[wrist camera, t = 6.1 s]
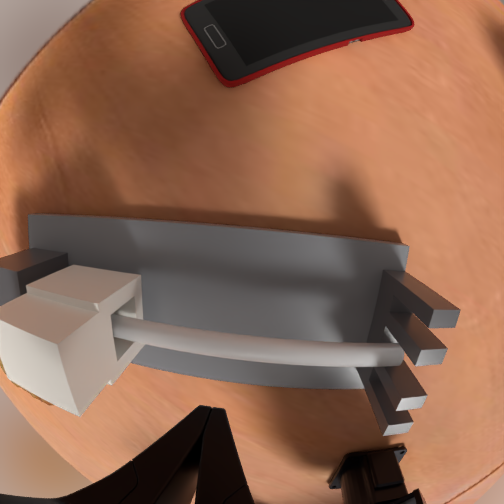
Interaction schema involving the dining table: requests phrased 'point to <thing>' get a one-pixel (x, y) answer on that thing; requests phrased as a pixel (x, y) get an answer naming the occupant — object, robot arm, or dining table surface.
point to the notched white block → (69, 334)
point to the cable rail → (257, 303)
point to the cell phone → (283, 31)
